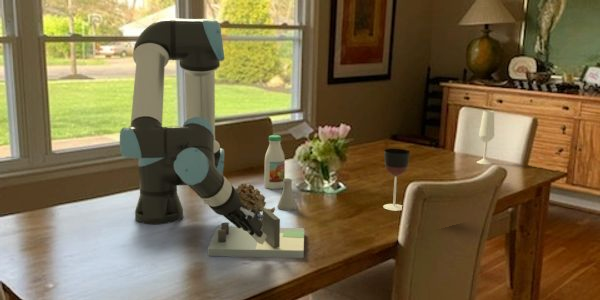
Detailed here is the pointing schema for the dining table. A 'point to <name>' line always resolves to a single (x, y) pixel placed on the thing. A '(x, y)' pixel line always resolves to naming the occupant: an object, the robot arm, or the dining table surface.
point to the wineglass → (396, 169)
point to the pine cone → (252, 198)
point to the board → (255, 243)
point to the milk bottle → (274, 164)
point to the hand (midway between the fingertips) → (262, 239)
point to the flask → (287, 196)
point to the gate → (271, 228)
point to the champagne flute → (486, 132)
